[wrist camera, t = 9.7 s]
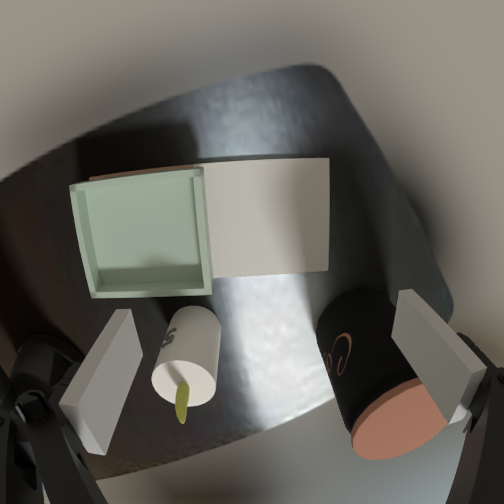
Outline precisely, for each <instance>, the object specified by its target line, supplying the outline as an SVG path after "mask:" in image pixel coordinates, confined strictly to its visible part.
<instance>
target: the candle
mask: <svg viewBox="0 0 504 504" xmlns="http://www.w3.org/2000/svg"><path fill="white" fill-rule="evenodd" d="M220 335H221V325H220V322H219V320H218V318H217V317H216V315H215V314H214V313H212V312H211V311H210V310H208V309H206V308H204V307H200V306H186V307H183V308H181V309H179V310H178V311H177V312H176V313H175V314H174V315H173V317H172V319H171V322H170V325H169V327H168V330H167V333H166V334H165V336H164V342H163V344H162V345H161V350H160V353H159V356H158V359H157V362H156V365H155V368H154V371H153V374H152V383H153V386H154V388H155V390H156V391H157V393H158V394H159V395H160V396H161V397H163V398H164V399H166V400H167V401H169V402H172V403H174V404H175V409H176V414H177V417H178V419H179V421H180V422H181V423H182V424H184V422H185V419H186V412H187V406H198V405H201V404H204V403H206V402H207V401H209V400H210V399H211V398H212V397H213V395H214V393H215V390H216V379H217V368H218V357H219V346H220Z"/></svg>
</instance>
